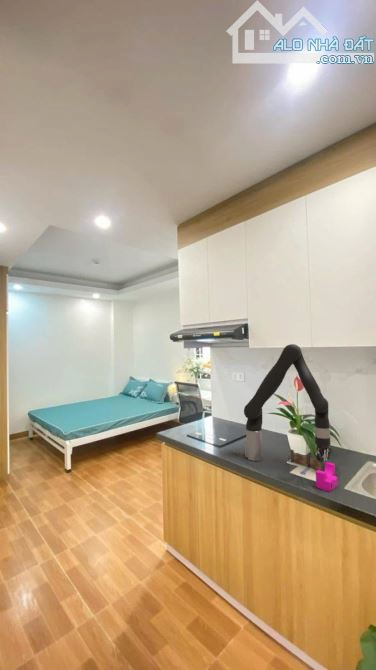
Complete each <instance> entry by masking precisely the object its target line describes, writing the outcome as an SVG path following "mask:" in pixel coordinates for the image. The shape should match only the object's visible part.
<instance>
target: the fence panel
mask: <svg viewBox="0 0 376 670" xmlns="http://www.w3.org/2000/svg"><path fill="white" fill-rule="evenodd" d="M310 468H312V469H314V470H316V471H317V470H320V471H323V472H324V471H325V461H319V460H318V459H315V458H314V457H313V458H312V457H310Z"/></svg>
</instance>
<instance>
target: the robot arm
mask: <svg viewBox="0 0 376 670" xmlns="http://www.w3.org/2000/svg"><path fill="white" fill-rule="evenodd" d="M292 365H293V366H294V368H295V370H296V372H297V374H298V377H299V380H300V383H301V385H302V386H303V389H304V390H305V391H306V394H307V395H308V397H309V399H310V400H309V401H310V402H311V405H312V406H313V408H314V443H315V445H316V451H315V452H314V451H313V454H314V456H315V458H316V460H318V461H320V462H321V461H325V463H326V462H328V460H329V459H330V456H331V454H332V451H333V449H332V448H331V447H330V446H331V430H330V420H329V401H328V399H326V398H325V397H324V396H323V394H322V391H321V388H320V386H319V384H318V382H317V380H316V379H315V377H314V376H313V374H312V372H311V371H310V368H309V366H308V365H307V363H306V361H305V357H304V356H303V353H302V349H301V347H300V346H299V345H297V344H295V343H293V344H292V343H291V344H287V345H285V347H284V348H283V349H282V352H281V354H280V355H279V357H278V359H277V361H276V363H275V364H273V366H272V368H271V369H270V370H269V371H268V373H267V375H265V377H264V378H263V380H262V382H261V383H260V384H259V386H258V388H257V389H256V391H255V393H254V395H253V397H252V398H251V399H250V400H249V401H248V402H247V403H246V405H245V406H244V409H243V414H244V416H245V418H247V419H246V420H247V421H246V424H245V435H246V436H245V441H244V452H245V454H244V456H245V458H246V457H247V458H248V459H247V458H246V459H247V460H248V461H251V460H252V462H259V461H262V460H263V435H262V433H263V432H262V428H263V427H262V426H263V407H264V405H265V404H266V402H267V401H268V400H269V399H270V398H271V397H272V396H273V395H274V394H275V393H276V391H277V390H278V389H279V387H280V386H281V385H282V383H283V381H284V379H285V377H286V375H287V372H288V371H289V369H290V368H291V367H292Z"/></svg>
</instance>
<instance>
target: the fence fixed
mask: <svg viewBox="0 0 376 670" xmlns="http://www.w3.org/2000/svg"><path fill="white" fill-rule="evenodd" d="M310 458H311V454H310V453H307V454H306V455H303V454H300V453H296V452H295V450H294V449H290V460H291V462H294V463H298V464H301V465H304V466H307V467H310Z"/></svg>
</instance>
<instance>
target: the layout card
mask: <svg viewBox="0 0 376 670" xmlns="http://www.w3.org/2000/svg"><path fill="white" fill-rule="evenodd" d="M286 464H289V465H291V466H295V468H294V469H292V470H291V471H289V474H291V475H293V476H297V477H300V478H303V479H307V480H309V481H312V482H314V483H316V470H314V469H312V468H310V467H307V466H304V465H301V464H298V463H294V462H291V459H289V460H287V462H286Z"/></svg>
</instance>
